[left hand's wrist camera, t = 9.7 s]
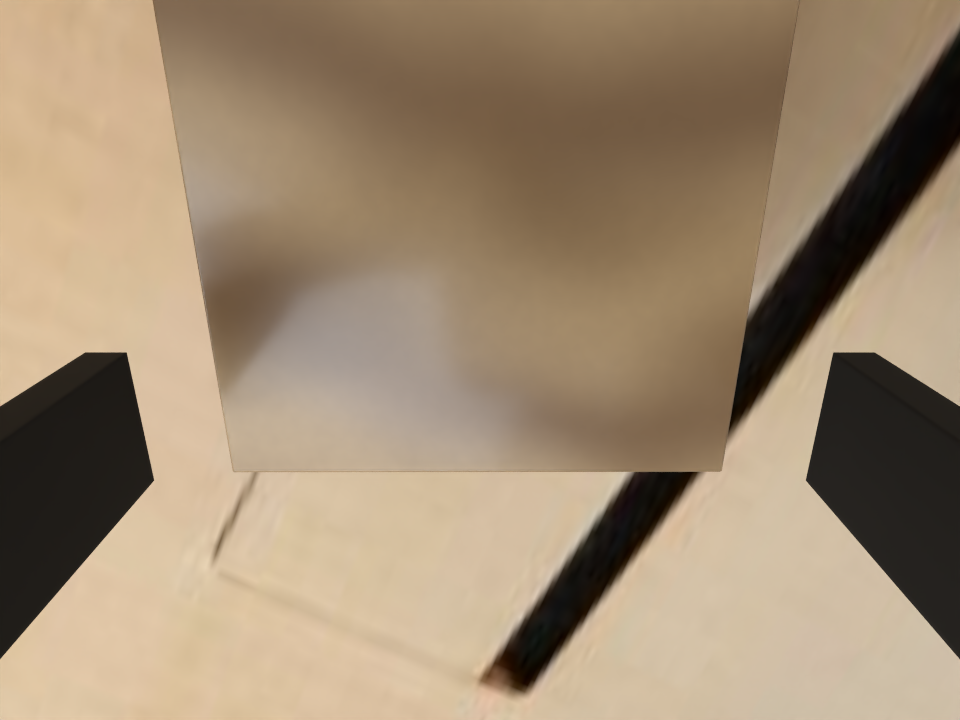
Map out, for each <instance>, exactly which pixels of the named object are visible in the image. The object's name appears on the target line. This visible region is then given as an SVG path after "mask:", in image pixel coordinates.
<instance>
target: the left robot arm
mask: <svg viewBox="0 0 960 720" xmlns="http://www.w3.org/2000/svg"><path fill="white" fill-rule="evenodd" d="M153 481H154V478H153V473H152V468H151V464H150V459H149V454H148V450H147V445H146V441H145V436H144V431H143V427H142V422H141V417H140V413H139V408H138V403H137V399H136V394H135V389H134V385H133V380H132V375H131V371H130V366H129V362H128V357H127V353H84V354H82V355H81V356H79V357H78V358H76V359H74V360H73V361H71V362H70V363H68V364H67V365H65V366H63V367H62V368H60V369H59V370H57V371H55V372H54V373H52V374H51V375H49V376H48V377H46V378H44V379H43V380H41V381H40V382H38V383H37V384H35V385H33V386H32V387H30V388H29V389H27V390H26V391H24V392H22V393H21V394H19V395H18V396H16V397H14V398H13V399H11V400H10V401H8V402H7V403H5V404H3V405H2V406H0V659H1V657H2V656H3V655H4V654H5V653H6V652H7V650H8V649H9V648H10V647H11V646H12V645H13V644H14V642H15V641H16V640H17V639H18V638H19V637H20V635H21V634H22V633H23V632H24V631H25V630H26V628H27V627H28V626H29V625H30V624H31V623H32V621H33V620H34V619H35V618H36V617H37V616H38V615H39V613H40V612H41V611H42V610H43V609H44V608H45V606H46V605H47V604H48V603H49V602H50V601H51V599H52V598H53V597H54V596H55V595H56V594H57V592H58V591H59V590H60V589H61V588H62V587H63V586H64V584H65V583H66V582H67V581H68V580H69V579H70V577H71V576H72V575H73V574H74V573H75V572H76V570H77V569H78V568H79V567H80V566H81V565H82V563H83V562H84V561H85V560H86V559H87V558H88V557H89V555H90V554H91V553H92V552H93V551H94V550H95V548H96V547H97V546H98V545H99V544H100V543H101V541H102V540H103V539H104V538H105V537H106V536H107V534H108V533H109V532H110V531H111V530H112V529H113V528H114V526H115V525H116V524H117V523H118V522H119V521H120V519H121V518H122V517H123V516H124V515H125V514H126V512H127V511H128V510H129V509H130V508H131V507H132V505H133V504H134V503H135V502H136V501H137V500H138V499H139V497H140V496H141V495H142V494H143V493H144V492H145V490H146V489H147V488H148V487H149V486H150V485H151V483H152V482H153ZM806 481H807V482H808V483H809V485H810V486H811V487H812V488H813V489H814V490H815V492H816V493H817V494H818V495H819V496H820V497H821V499H822V500H823V501H824V502H825V503H826V504H827V505H828V507H829V508H830V509H831V510H832V511H833V512H834V514H835V515H836V516H837V517H838V518H839V519H840V521H841V522H842V523H843V524H844V525H845V526H846V528H847V529H848V530H849V531H850V532H851V533H852V534H853V536H854V537H855V538H856V539H857V540H858V541H859V543H860V544H861V545H862V546H863V547H864V548H865V550H866V551H867V552H868V553H869V554H870V555H871V557H872V558H873V559H874V560H875V561H876V562H877V563H878V565H879V566H880V567H881V568H882V569H883V570H884V572H885V573H886V574H887V575H888V576H889V577H890V579H891V580H892V581H893V582H894V583H895V584H896V586H897V587H898V588H899V589H900V590H901V591H902V592H903V594H904V595H905V596H906V597H907V598H908V599H909V601H910V602H911V603H912V604H913V605H914V606H915V608H916V609H917V610H918V611H919V612H920V613H921V615H922V616H923V617H924V618H925V619H926V620H927V621H928V623H929V624H930V625H931V626H932V627H933V628H934V630H935V631H936V632H937V633H938V634H939V635H940V637H941V638H942V639H943V640H944V641H945V642H946V644H947V645H948V646H949V647H950V648H951V649H952V650H953V652H954V653H955V654H956V655H957V656H958V657H959V659H960V406H958V405H957V404H955V403H953V402H952V401H950V400H949V399H947V398H946V397H944V396H942V395H941V394H939V393H938V392H936V391H934V390H933V389H931V388H930V387H928V386H927V385H925V384H923V383H922V382H920V381H919V380H917V379H916V378H914V377H912V376H911V375H909V374H908V373H906V372H905V371H903V370H901V369H900V368H898V367H897V366H895V365H893V364H892V363H890V362H889V361H887V360H886V359H884V358H882V357H881V356H879V355H878V354H876V353H833V357H832V362H831V366H830V371H829V375H828V380H827V385H826V389H825V394H824V399H823V403H822V408H821V413H820V417H819V422H818V427H817V431H816V436H815V441H814V445H813V450H812V454H811V459H810V464H809V468H808V473H807V478H806Z"/></svg>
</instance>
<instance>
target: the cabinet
mask: <svg viewBox="0 0 960 720" xmlns="http://www.w3.org/2000/svg"><path fill="white" fill-rule="evenodd" d="M799 2H800V0H153V5H154V11H155V16H156V22H157V28H158V34H159V40H160V46H161V52H162V58H163V63H164V69H165V75H166V81H167V87H168V93H169V99H170V104H171V110H172V116H173V122H174V128H175V134H176V140H177V146H178V151H179V157H180V163H181V169H182V175H183V181H184V187H185V193H186V198H187V204H188V210H189V216H190V222H191V228H192V234H193V239H194V245H195V251H196V257H197V263H198V269H199V275H200V281H201V286H202V292H203V298H204V304H205V310H206V316H207V322H208V328H209V333H210V339H211V345H212V351H213V357H214V363H215V369H216V374H217V380H218V386H219V392H220V398H221V404H222V410H223V416H224V421H225V427H226V433H227V439H228V445H229V451H230V457H231V463H232V468H233V472H720V471H722V466H723V460H724V454H725V448H726V441H727V435H728V429H729V423H730V417H731V411H732V405H733V399H734V393H735V387H736V381H737V375H738V369H739V363H740V357H741V351H742V345H743V339H744V333H745V327H746V321H747V315H748V309H749V303H750V297H751V291H752V285H753V279H754V273H755V267H756V261H757V255H758V249H759V243H760V237H761V231H762V225H763V219H764V213H765V207H766V201H767V195H768V189H769V182H770V176H771V170H772V164H773V158H774V152H775V146H776V140H777V134H778V128H779V122H780V116H781V110H782V104H783V98H784V92H785V86H786V80H787V74H788V68H789V62H790V56H791V50H792V44H793V38H794V32H795V26H796V20H797V14H798V8H799Z"/></svg>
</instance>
